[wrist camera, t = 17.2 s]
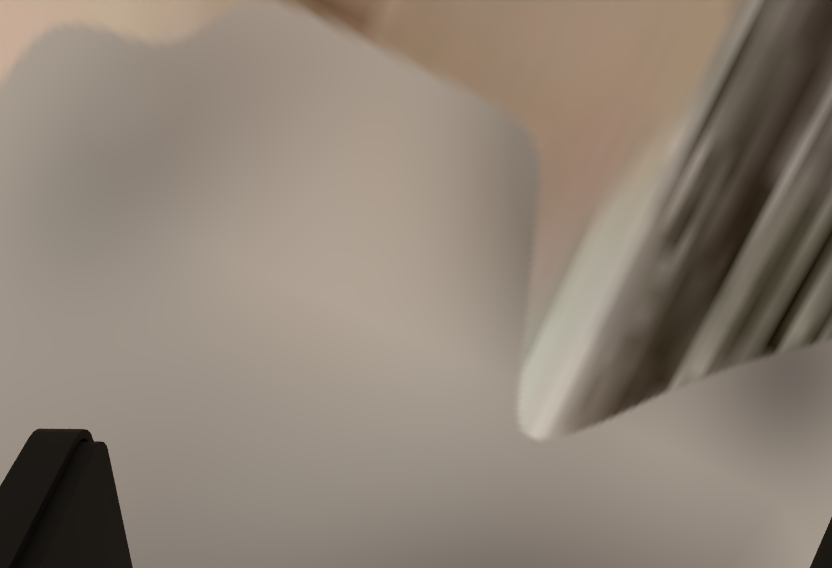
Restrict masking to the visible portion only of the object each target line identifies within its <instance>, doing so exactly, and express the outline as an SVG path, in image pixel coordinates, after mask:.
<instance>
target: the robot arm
mask: <svg viewBox="0 0 832 568" xmlns="http://www.w3.org/2000/svg"><path fill="white" fill-rule="evenodd" d="M0 568H133V567H132V563H131V558H130V553H129V548H128V544H127V539H126V534H125V530H124V524H123V520H122V515H121V510H120V505H119V501H118V496H117V491H116V486H115V482H114V477H113V472H112V467H111V463H110V458H109V454H108V449H107V446H106V445H105V443H104V442H94V441H93V438H92V435H91V433H90V432H89V431H88V430H85V429H37V430H36V431H34V432H33V433H32V435H31V436H30V437H29V439H28V440H27V442H26V444H25V445H24V447H23V449H22V450H21V452H20V454H19V455H18V457H17V459H16V461H15V462H14V464H13V465H12V467H11V469H10V471H9V472H8V474H7V476H6V477H5V479H4V481H3V482H2V484H1V486H0ZM810 568H832V518H831V520H830V523H829V525H828V527H827V530H826V532H825V534H824V537H823V539H822V541H821V544H820V546H819V548H818V550H817V553H816V555H815V557H814V560H813V562H812V564H811V567H810Z"/></svg>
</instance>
